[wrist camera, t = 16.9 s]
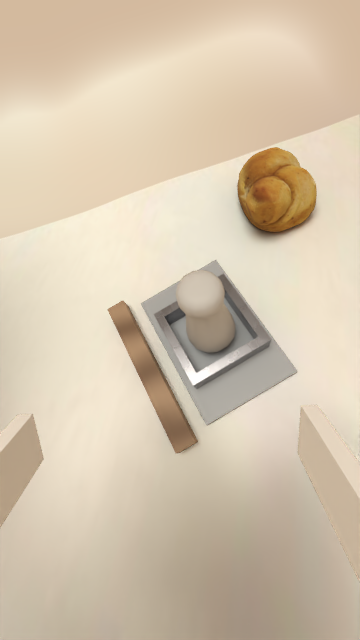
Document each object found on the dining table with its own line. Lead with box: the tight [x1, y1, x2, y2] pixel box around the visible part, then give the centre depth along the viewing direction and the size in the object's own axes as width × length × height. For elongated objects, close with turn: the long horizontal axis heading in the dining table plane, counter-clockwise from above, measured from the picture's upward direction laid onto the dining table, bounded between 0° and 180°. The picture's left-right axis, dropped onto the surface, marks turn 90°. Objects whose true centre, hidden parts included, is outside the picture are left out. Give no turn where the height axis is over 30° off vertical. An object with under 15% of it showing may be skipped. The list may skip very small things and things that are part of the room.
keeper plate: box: [141, 260, 297, 425], centre depth 36 cm, size 18×12×4 cm, turn 29°
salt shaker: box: [176, 270, 236, 353], centre depth 31 cm, size 6×6×13 cm
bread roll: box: [238, 147, 317, 232], centre depth 39 cm, size 13×10×8 cm
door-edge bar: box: [108, 301, 198, 453], centre depth 36 cm, size 20×2×2 cm, turn 29°
